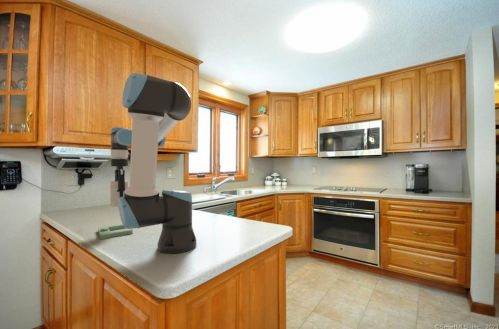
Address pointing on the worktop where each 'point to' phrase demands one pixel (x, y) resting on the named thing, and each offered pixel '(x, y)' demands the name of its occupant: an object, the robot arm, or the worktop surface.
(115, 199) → the cup
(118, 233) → the deck
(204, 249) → the worktop surface
